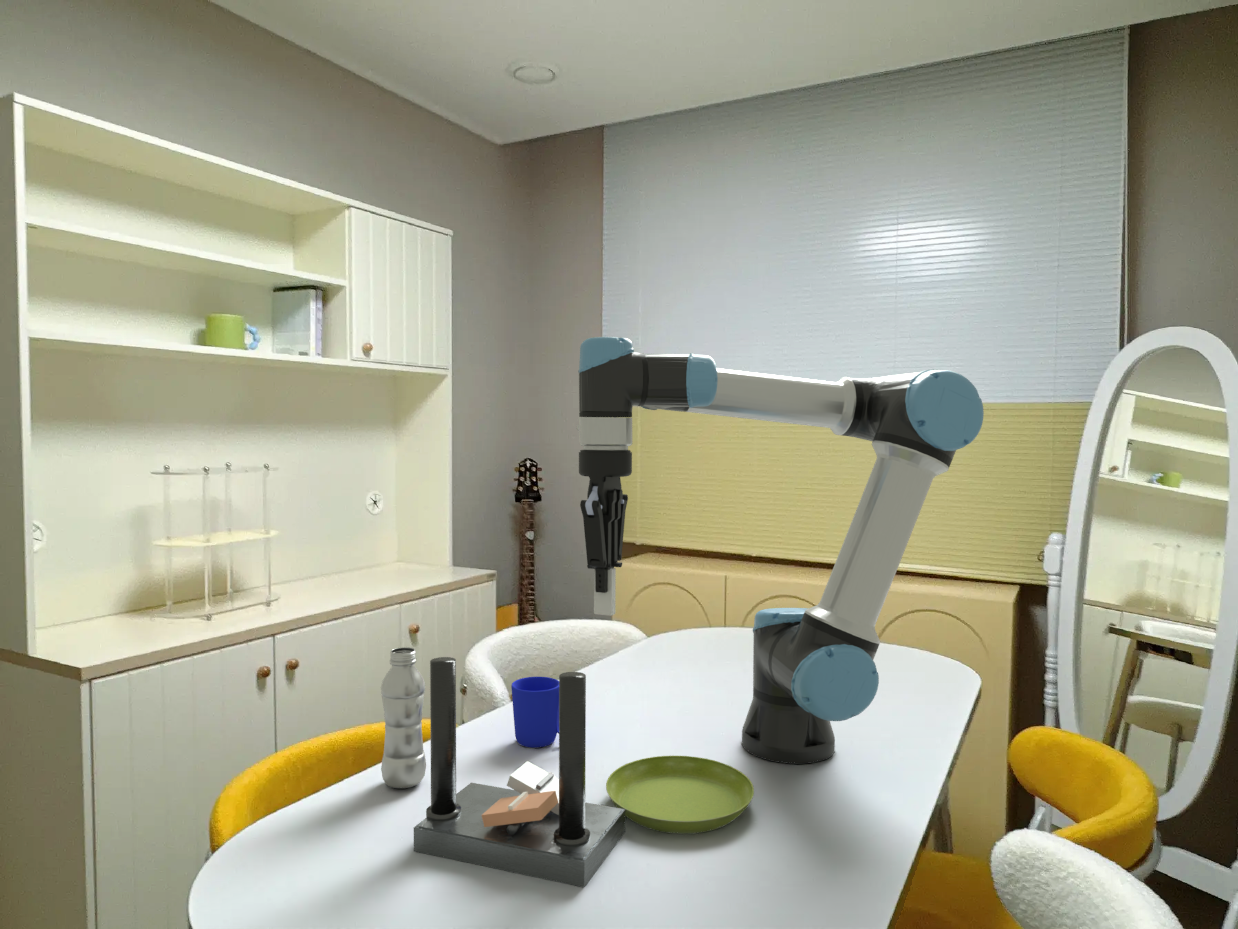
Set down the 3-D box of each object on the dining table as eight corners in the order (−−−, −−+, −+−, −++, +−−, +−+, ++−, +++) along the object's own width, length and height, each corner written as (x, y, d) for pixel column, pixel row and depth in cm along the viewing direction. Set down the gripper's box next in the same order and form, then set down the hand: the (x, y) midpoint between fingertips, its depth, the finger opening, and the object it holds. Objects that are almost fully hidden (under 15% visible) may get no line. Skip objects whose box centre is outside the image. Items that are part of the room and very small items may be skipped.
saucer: (609, 774, 127) (609, 754, 127) (744, 777, 126) (744, 756, 126) (602, 842, 106) (602, 817, 106) (763, 845, 106) (764, 821, 105)
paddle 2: (558, 802, 104) (554, 786, 104) (541, 820, 99) (536, 803, 99) (503, 809, 106) (499, 794, 107) (484, 827, 102) (480, 811, 102)
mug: (575, 756, 133) (575, 694, 133) (504, 749, 136) (504, 689, 135) (587, 737, 141) (588, 679, 141) (520, 731, 144) (520, 675, 143)
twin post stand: (625, 831, 108) (626, 658, 107) (584, 887, 95) (585, 690, 94) (466, 802, 116) (466, 641, 115) (408, 850, 103) (407, 668, 102)
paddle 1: (574, 799, 110) (579, 786, 110) (559, 815, 105) (564, 802, 105) (523, 770, 113) (528, 757, 112) (506, 785, 108) (511, 772, 108)
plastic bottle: (386, 797, 118) (385, 659, 117) (377, 779, 124) (376, 647, 123) (431, 789, 121) (430, 653, 120) (420, 771, 127) (419, 642, 126)
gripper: (597, 446, 124) (597, 602, 125) (562, 448, 112) (561, 621, 113) (645, 447, 122) (644, 606, 123) (614, 449, 109) (613, 626, 110)
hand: (604, 613), depth 118 cm, fingers closed
